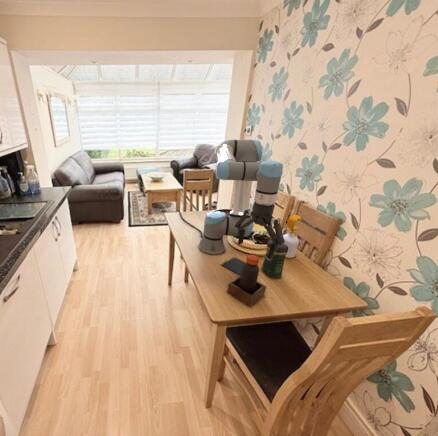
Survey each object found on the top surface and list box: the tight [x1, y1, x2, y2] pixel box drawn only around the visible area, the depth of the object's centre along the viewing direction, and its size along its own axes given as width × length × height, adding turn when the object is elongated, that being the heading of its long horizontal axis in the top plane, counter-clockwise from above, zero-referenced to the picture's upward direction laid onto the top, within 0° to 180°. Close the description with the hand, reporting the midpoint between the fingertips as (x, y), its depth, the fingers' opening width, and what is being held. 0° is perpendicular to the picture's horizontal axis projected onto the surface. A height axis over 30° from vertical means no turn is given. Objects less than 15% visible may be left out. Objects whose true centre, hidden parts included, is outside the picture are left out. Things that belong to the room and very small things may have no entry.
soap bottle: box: [283, 214, 302, 259], centre depth 136 cm, size 9×9×25 cm
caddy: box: [226, 275, 267, 308], centre depth 109 cm, size 12×12×6 cm
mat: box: [221, 257, 246, 276], centre depth 130 cm, size 12×12×1 cm
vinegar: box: [239, 254, 260, 295], centre depth 106 cm, size 7×7×20 cm
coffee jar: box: [261, 238, 288, 279], centre depth 121 cm, size 10×8×19 cm
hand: (254, 250), depth 100 cm, fingers open, 13 cm apart
